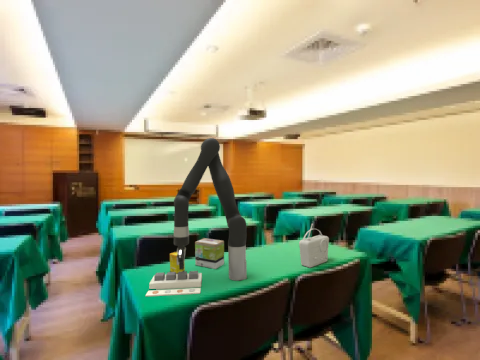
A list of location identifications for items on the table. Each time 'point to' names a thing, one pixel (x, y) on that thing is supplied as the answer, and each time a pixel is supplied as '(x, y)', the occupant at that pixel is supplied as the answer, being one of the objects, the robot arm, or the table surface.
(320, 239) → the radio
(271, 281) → the table surface
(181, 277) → the button
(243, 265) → the robot arm
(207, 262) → the tea box
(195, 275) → the button
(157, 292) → the pattern card
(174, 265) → the supplement box
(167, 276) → the button
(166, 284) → the button board
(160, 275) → the button
